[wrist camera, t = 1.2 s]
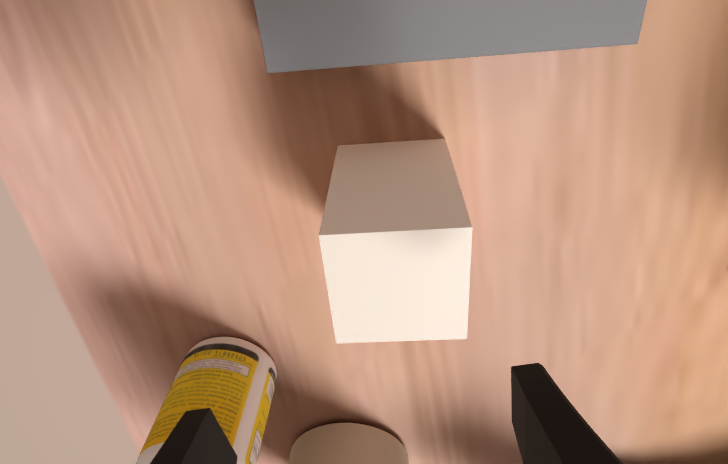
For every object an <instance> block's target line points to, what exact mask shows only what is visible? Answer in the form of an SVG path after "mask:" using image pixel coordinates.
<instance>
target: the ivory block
mask: <svg viewBox="0 0 728 464" xmlns="http://www.w3.org/2000/svg"><path fill="white" fill-rule="evenodd" d="M319 240H320V246H321V252H322V259H323V265H324V271H325V277H326V283H327V289H328V296H329V302H330V308H331V314H332V320H333V326H334V333H335V339H336V343H362V342H390V341H418V340H446V339H467V326H468V305H469V284H470V264H471V243H472V225H471V222H470V218H469V215H468V212H467V209H466V205H465V202H464V199H463V196H462V192H461V189H460V186H459V183H458V179H457V176H456V173H455V169H454V166H453V163H452V160H451V156H450V153H449V150H448V147H447V143H446V140H445V138H443V139H428V140H413V141H398V142H383V143H368V144H353V145H338V147H337V152H336V156H335V161H334V166H333V170H332V175H331V180H330V185H329V189H328V194H327V199H326V203H325V208H324V213H323V218H322V222H321V227H320V232H319Z"/></svg>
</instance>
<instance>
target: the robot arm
mask: <svg viewBox="0 0 728 464" xmlns="http://www.w3.org/2000/svg"><path fill="white" fill-rule="evenodd" d="M511 388H512V424H513V427H514V431H515V435H516V438H517V442H518V446H519V449H520V453H521V456H522V460H523V463H524V464H623V463H622V462H621V461H620V460H619V459H618V458H617V457H616V456H615V454H614V453H613V452H612V451H611V450H610V449H609V448H608V447H607V445H606V444H605V443H604V442H603V441H602V440H601V439H600V437H599V436H598V435H597V434H596V433H595V432H594V431H593V430H592V428H591V427H590V426H589V425H588V424H587V422H586V421H585V420H584V419H583V418H582V416H581V415H580V414H579V413H578V412H577V410H576V409H575V408H574V407H573V405H572V404H571V403H570V402H569V400H568V399H567V398H566V397H565V395H564V394H563V393H562V391H561V390H560V389H559V387H558V386H557V385H556V383H555V382H554V381H553V379H552V378H551V377H550V375H549V374H548V372H547V371H546V370H545V368H544V367H543V366H542V365H541V364H539V363H534V364H527V365H519V366H512V367H511ZM150 464H237V455H236V453H235V451H234V449H233V447H232V446H231V444H230V442H229V440H228V439H227V437H226V435H225V433H224V432H223V430H222V428H221V426H220V425H219V423H218V421H217V419H216V418H215V416H214V414H213V412H212V410H211V409H210V408H205V409H197V410H190V411H186V412H185V413H184V414H183V416H182V417H181V419H180V420H179V422H178V423H177V424H176V426H175V427H174V429H173V430H172V432H171V433H170V435H169V436H168V438H167V439H166V441H165V442H164V444H163V445H162V447H161V448H160V449H159V451H158V452H157V454H156V455H155V457H154V458H153V460H152V461H151V463H150Z"/></svg>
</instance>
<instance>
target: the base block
mask: <svg viewBox="0 0 728 464" xmlns="http://www.w3.org/2000/svg"><path fill="white" fill-rule="evenodd" d="M646 3H647V0H254V6H255V11H256V16H257V21H258V27H259V32H260V37H261V42H262V48H263V53H264V58H265V63H266V69H267V73H277V72H290V71H302V70H315V69H327V68H340V67H353V66H365V65H378V64H391V63H403V62H416V61H429V60H441V59H454V58H466V57H479V56H492V55H504V54H517V53H530V52H542V51H555V50H567V49H580V48H593V47H605V46H618V45H631V44H638V39H639V35H640V30H641V26H642V21H643V17H644V12H645V7H646Z"/></svg>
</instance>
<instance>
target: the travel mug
mask: <svg viewBox="0 0 728 464" xmlns="http://www.w3.org/2000/svg"><path fill="white" fill-rule="evenodd" d="M288 464H409V463H408V454H407V451H406V449H405V447H404V446H403V445H402V443H401V442H400V441H399V440H398V439H396V438H395V437H394V436H392V435H391V434H389V433H387V432H385V431H383V430H381V429H378V428H375V427H372V426H368V425H363V424H357V423H333V424H327V425H323V426H319V427H316V428H313V429H311V430H309V431H307V432H305V433H304V434H302V435H301V436H300V437H299V438H298V439H297V440H296V441H295V442H294V444H293V445H292V448H291V452H290V457H289V463H288Z"/></svg>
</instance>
